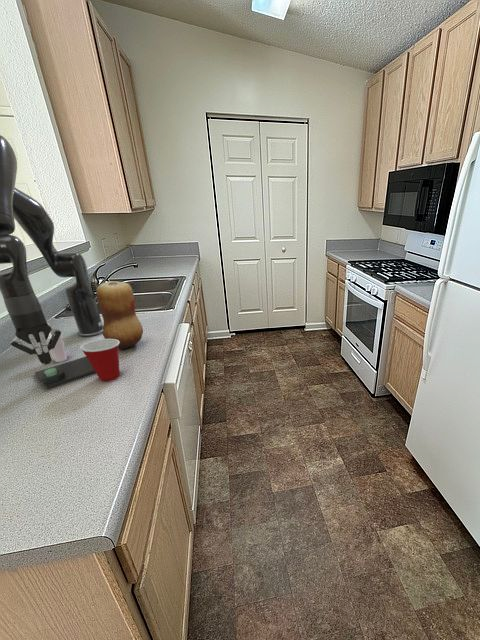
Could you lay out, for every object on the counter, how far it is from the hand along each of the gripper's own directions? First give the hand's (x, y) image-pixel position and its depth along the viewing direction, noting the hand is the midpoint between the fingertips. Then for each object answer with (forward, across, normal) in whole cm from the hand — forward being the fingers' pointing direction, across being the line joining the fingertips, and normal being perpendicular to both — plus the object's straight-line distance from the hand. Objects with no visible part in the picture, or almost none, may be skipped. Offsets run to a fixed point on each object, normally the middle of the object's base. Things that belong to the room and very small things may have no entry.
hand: (47, 363), depth 102 cm
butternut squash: (+7, -27, -10) cm, 30 cm away
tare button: (+4, 0, 0) cm, 4 cm away
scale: (+7, -5, -3) cm, 9 cm away
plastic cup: (+7, -13, +10) cm, 18 cm away
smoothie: (+7, -6, -17) cm, 19 cm away
